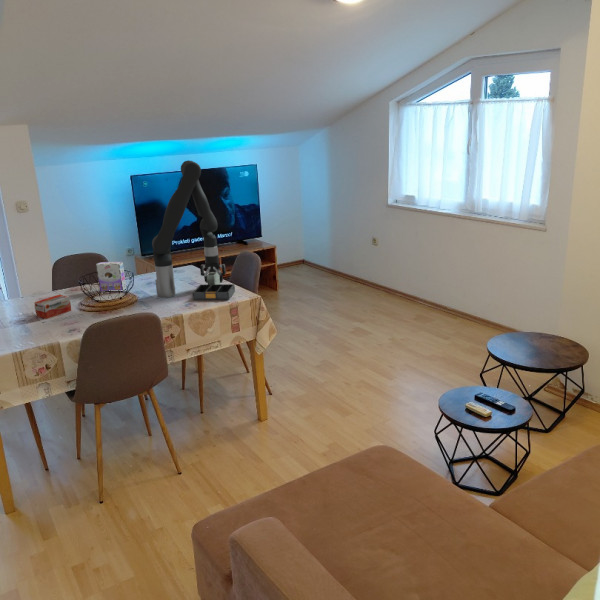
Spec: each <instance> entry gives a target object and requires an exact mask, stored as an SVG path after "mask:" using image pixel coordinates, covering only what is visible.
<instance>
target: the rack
mask: <svg viewBox="0 0 600 600" xmlns="http://www.w3.org/2000/svg"><path fill="white" fill-rule="evenodd" d="M235 287H236V286H235V283H230V284H227V283H225V284H222V283H220V284H211V285H208V284H199V285H198V287H197V288H196V289H195V290H194V291H193V292H192V298H193V301H229V300H231V298H232V296H233V295H234V294H235V292H236V288H235Z"/></svg>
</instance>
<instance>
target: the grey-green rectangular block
mask: <svg viewBox="0 0 600 600" xmlns="http://www.w3.org/2000/svg"><path fill="white" fill-rule="evenodd" d="M206 284H207V285H211V284H221V283H220V275H219V274H218V273H217V272H209V273H208V274H207V283H206Z"/></svg>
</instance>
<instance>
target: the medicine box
mask: <svg viewBox="0 0 600 600" xmlns="http://www.w3.org/2000/svg"><path fill="white" fill-rule="evenodd" d="M33 303H34V310H35V315H36V317H37V318H41V319H44V320H48V319H51V318H54V317H57V316H60V315H63V314H66V313H69V312H72V304H71V299H70V296H69V295H63V294H56V295H53V296H50V297H47V298H43V299H41V300H37V301H34V302H33Z"/></svg>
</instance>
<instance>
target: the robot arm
mask: <svg viewBox="0 0 600 600" xmlns="http://www.w3.org/2000/svg"><path fill="white" fill-rule="evenodd" d="M180 173H181V174H182V177H181V180H180V183H179V185H178V187H177V189H176V190H175V191H174V193H173V194H172V195H171V196H170V198H169V201H168V203H167V206H166V208H165V211H164V215H163V221H162V224H161V225H162V226H161V227H160V229H159V231H158V234H157V235H156V236H154V237H153V239H152V240H151V241H152V242H151V243H152V244H151V245H152V247H151V248H152V254H153V262H154V268H155V276H156V277H155V278H156V279H155V281H154V282H155V289H156V296H157V298H163V299H165V298H171V297H175V296H176V286H175V284H176V283H175V277H174V276H175V275H174V268H173V267H174V266H173V258H172V253H171V247H172V243H173V240H174V239H173V238H174V236H175V233H176V231H177V229H178V226H179V225H180V222H181V221H182V218H183V216H184V214H185V211H186V208H187V206H188V203H189V200H190V199H191V195H192V199H193V202H194V203H193V204H194V206H195V208H196V211H197V215H198V216H199V217H201V218H202V219H201V220H200V223H199V229H200V233H201V236H202V238H203V246H204V248H203V249H204V250H203V251H204V252H203V253H204V262H205V264H203V263H202V264H201V265H200V268H199V269H200V271H199V272H200V276H202V277H204V282H205V283H206V284H208V283H207V275H208V274H209V273H210V272H217V273H218V274H219V276H220V284H222V282H223V281H224V278H223V277H224V276H225V275H227V270H226V264H225V263H223V264H220V258H219V256H220V255H219V249H218V240H217V236H216V235H214V232H216V231H217V229H218V221H217V218H216V217H215V215H214V213H213V211H212V209H211V207H210V204H209V201H208V198H207V196H206V194H205V192H204V190H203V188H202V186H201V183H200V180H199V179H200V177H201V174H202V168H201V166H200V164H198V162H195V161H193V160H189V159H188V160H184V161H183V162H182V164H181V165H180ZM205 269H206V271H205V272H204V270H205ZM221 269H222V270H221Z"/></svg>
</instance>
